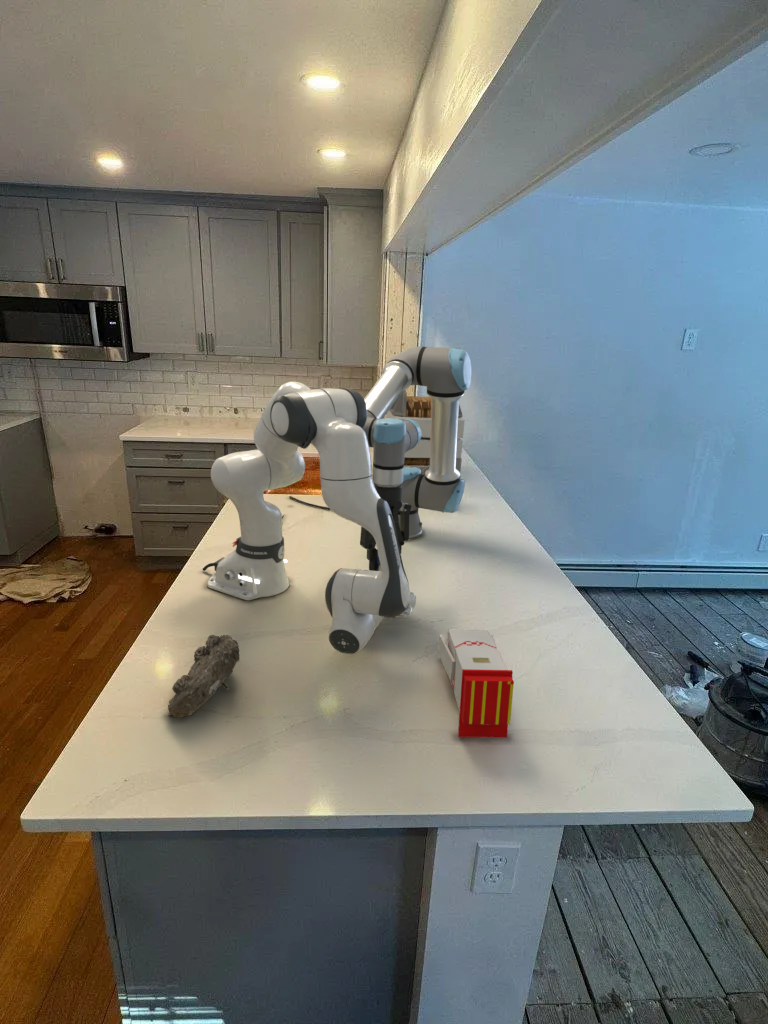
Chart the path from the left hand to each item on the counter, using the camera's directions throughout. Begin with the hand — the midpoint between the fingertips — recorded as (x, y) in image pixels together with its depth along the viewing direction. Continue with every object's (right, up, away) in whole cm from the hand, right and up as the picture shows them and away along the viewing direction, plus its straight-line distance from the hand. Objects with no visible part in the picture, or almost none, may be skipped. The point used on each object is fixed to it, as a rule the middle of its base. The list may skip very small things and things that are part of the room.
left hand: (383, 584), depth 149 cm
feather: (-37, +17, +60) cm, 73 cm away
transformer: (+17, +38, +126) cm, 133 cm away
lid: (0, +8, -4) cm, 9 cm away
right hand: (0, +4, -2) cm, 5 cm away
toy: (+18, -19, -30) cm, 40 cm away
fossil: (-36, -17, -32) cm, 51 cm away
